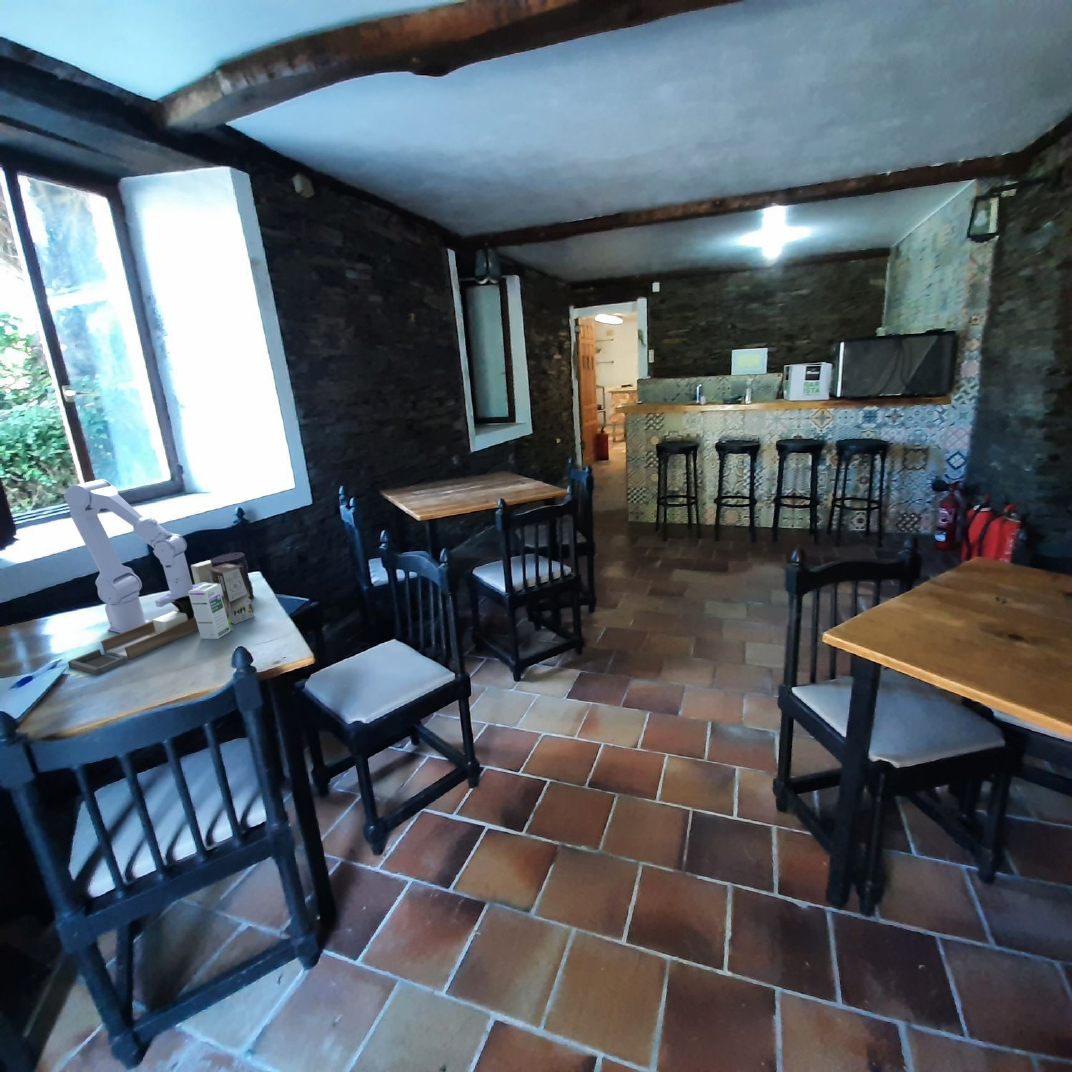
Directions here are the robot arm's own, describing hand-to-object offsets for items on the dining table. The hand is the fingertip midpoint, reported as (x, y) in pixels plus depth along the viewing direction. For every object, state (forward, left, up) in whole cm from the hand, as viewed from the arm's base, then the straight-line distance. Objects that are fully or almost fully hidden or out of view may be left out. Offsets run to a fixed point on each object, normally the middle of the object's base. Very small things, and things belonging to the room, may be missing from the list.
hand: (189, 620), depth 163 cm
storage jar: (-3, +18, -2) cm, 18 cm away
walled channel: (0, -8, -1) cm, 8 cm away
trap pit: (0, -25, -1) cm, 25 cm away
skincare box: (-15, +17, -2) cm, 23 cm away
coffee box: (+10, +8, -2) cm, 13 cm away
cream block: (0, -5, -1) cm, 5 cm away
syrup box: (+15, -2, -2) cm, 15 cm away
